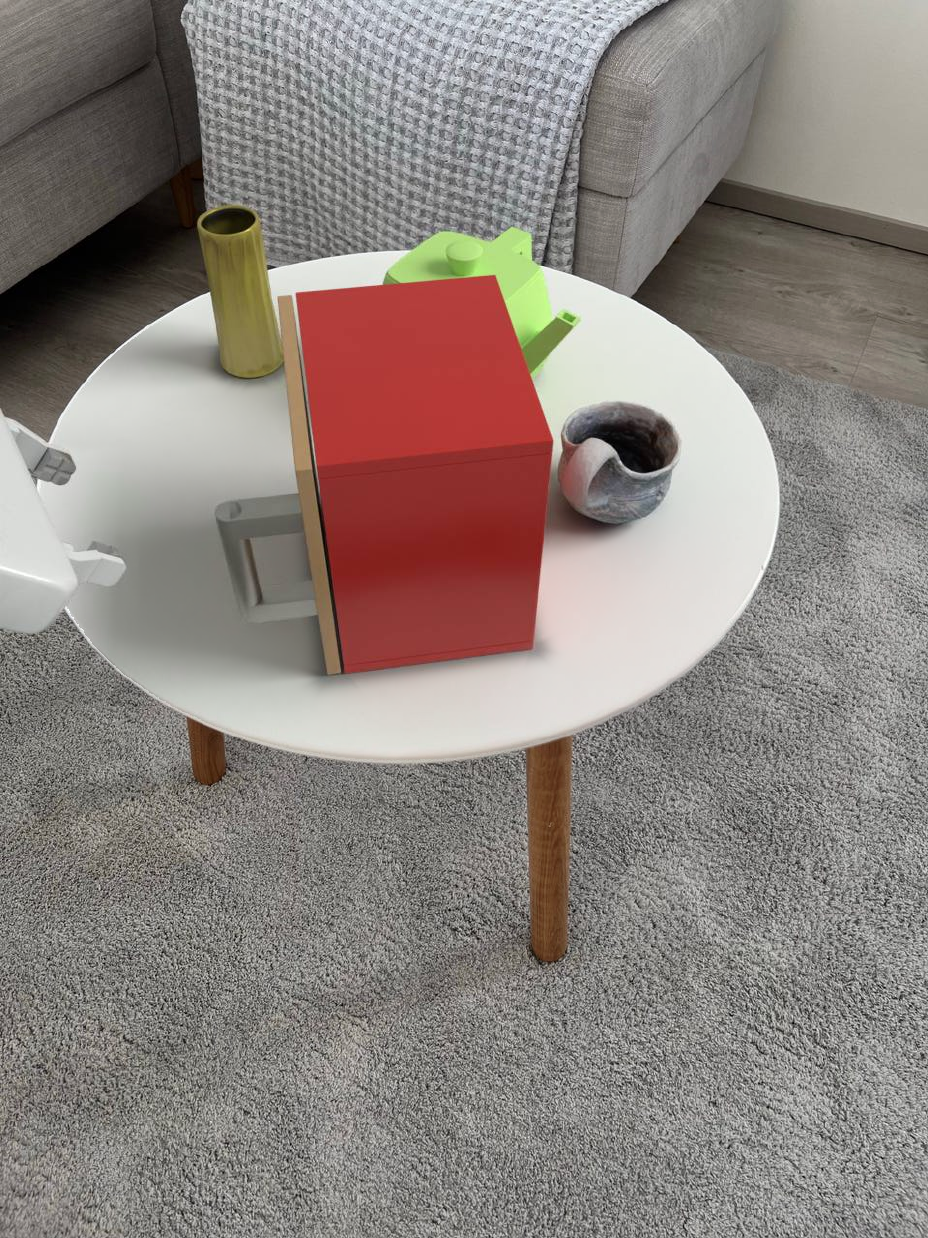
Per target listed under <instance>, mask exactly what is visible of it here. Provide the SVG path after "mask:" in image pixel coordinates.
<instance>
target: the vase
mask: <svg viewBox="0 0 928 1238" xmlns="http://www.w3.org/2000/svg"><path fill="white" fill-rule="evenodd" d="M196 224H197V232H198V236H199V241H200V247H201V251H202V256H203V262H204V267H205V272H206V278H207V283H208V284H207V285H208V288H209V295H210V300H211V305H212V311H213V318H214V323H215V330H216V338H217V345H218V348H219V361H220V362H219V363H220V365H221V367H222V368H223V369H224V371H226V372H227V373H228V374H230V375H233V376H234V377H238V378H246V379H249V378H250V379H252V378H253V379H255V378H260V377H264V376H267V375H269V374H271V373H274V372H276V370H278V369H279V368H280V367H281V365H282V364H284V357H283V348H282V338H281V333H280V329H279V323H278V319H277V315H276V314H277V313H276V310H275V305H274V301H273V296H272V290H271V289H272V288H271V285H270V278H269V271H268V264H267V257H266V250H265V242H264V236H263V230H262V225H261V224H262V223H261V220H260V217H259V215H258V214H257V212H256V211H255V210H254V209H252V208H250V207H248V206H244V205H241V204H240V205H239V204H227V205H220V206H217V207H213V208H211V209H208V210H207V211H205V212H204V213H202V214H201V215H200V216H199V217H198V220H197V222H196Z"/></svg>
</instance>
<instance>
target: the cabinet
mask: <svg viewBox="0 0 928 1238" xmlns="http://www.w3.org/2000/svg"><path fill="white" fill-rule="evenodd" d="M295 301H296V302H295V303H296V309H297V318H298V325H299V326H298V327H299V334H300V335H299V336H300V343H301V351H302V359H303V367H304V375H305V385H306V393H307V398H308V399H307V401H308V408H309V419H310V427H311V435H312V443H313V451H314V459H315V466H316V473H317V481H318V488H319V495H320V502H321V511H322V519H323V526H324V534H325V541H326V548H327V555H328V563H329V570H330V575H331V583H332V591H333V598H334V605H335V612H336V620H337V627H338V634H339V641H340V648H341V657H342V665H343V671H344V674H354V673H361V672H370V671H376V670H382V669H383V670H384V669H385V670H386V669H392V668H399V667H406V666H407V667H408V666H413V665H421V664H429V663H435V662H443V661H452V660H459V659H460V660H461V659H466V658H473V657H482V656H490V655H496V654H502V653H503V654H504V653H511V652H519V651H527V650H533V649H534V643H535V632H536V623H537V612H538V603H539V593H540V592H539V591H540V584H541V583H540V582H541V572H542V561H543V552H544V541H545V530H546V523H547V522H546V521H547V511H548V510H547V509H548V501H549V492H550V491H549V490H550V480H551V471H552V470H551V469H552V462H553V461H552V458H553V451H554V450H553V449H554V438H553V434H552V433H551V429H550V427H549V424H548V421H547V417H546V415H545V412H544V409H543V406H542V404H541V400H540V398H539V394H538V392H537V389H536V387H535V383H534V381H533V380H532V378H531V375H530V372H529V369H528V366H527V364H526V361H525V358H524V355H523V352H522V349H521V346H520V344H519V341H518V338H517V335H516V332H515V329H514V326H513V324H512V321H511V318H510V315H509V312H508V309H507V307H506V304H505V301H504V298H503V295H502V292H501V289H500V287H499V284H498V281H497V278H496V275H487V276H475V277H464V278H453V279H442V280H430V281H419V282H408V283H397V284H386V285H382V284H375V285H365V286H356V287H355V286H353V287H341V288H331V289H321V290H319V289H318V290H310V291H309V290H308V291H297V292H295Z"/></svg>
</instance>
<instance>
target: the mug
mask: <svg viewBox="0 0 928 1238" xmlns="http://www.w3.org/2000/svg"><path fill="white" fill-rule="evenodd" d="M560 440H561V448H562V451H561V454H560V457H559V460H558V465H557V482H558V485H559V489H560V490H561V493H562V494H563V496H564V498H565V499H566V500H567V502H568V504H569V505H570V506H571V507H572V508H573V510H575V511H576V512H577V513H579V514H581V515H583V516H586V517H587V518H590V519H594V520H597V521H599V522H602V523H607V524H618V525H619V524H624V523H628V522H632V521H633V522H634V521H636V520H641V519H642V518H646V517H647V516H649V515H650V514H652V513H653V512H654V511H655V510H656V509H657V508H658V507H659V506H660V505H661V503H662V502H663V501H664V498H666V496H667V494H668V492H669V490H670V486H671V484H672V483H671V482H672V476H673V475H672V474H673V470H674V469H675V468H676V466H677V465H678V463H679V462H680V457H681V452H682V438H681V436H680V434H679V432H678V430H677V428H676V426H675V425H674V423H673V422H672V421H671V420H670V419H669V418H668V417H667V415H665V414H663V413H662V412H658V411H657V410H656V409H654V408H652V407H650V406H647V405H644V404H641V403H636V402H631V401H625V400H616V401H603V402H600V403H593V404H590V405H588V406H584V407H580V408H578V409H577V410H574V412H572V413H571V414H570V415H569V416H568V417H567V418H566V420H565V421H564V423H563V425H562V428H561V431H560Z"/></svg>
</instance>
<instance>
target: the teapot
mask: <svg viewBox="0 0 928 1238" xmlns="http://www.w3.org/2000/svg"><path fill="white" fill-rule="evenodd" d="M532 246H533V245H532V233H530V232H528V231H524V230H522V229H521V228H520V229H519V228H517V227H515V226H510V227H509V228H508V229H507V230H505V231H503V232H502V233H501V234H500V235H499V236H497V237H496V238H494V239H493V240H492V241H488V240H485V239H481V238H478V237H474V236H472V235H468V234H464V233H459V232H455V231H448V230H447V231H439V232H437V233H435V234H434V235H432V236H430V237H428V238H427V239H426V240H424V241H422V242H421V243H420V244H419V245H418V246H416V247H415V248H413V249H412V250H410V251H409V252H408V253H406V254H405V255H404V256H403V257H401V258H400V259H399V260H397V262H395V263H394V264H392V266H391V267H390V268H389V269H388V270H387V271H386V272H385V275H384V278H383V280H382V284H381V285H386V284H397V283H408V282H419V281H430V280H442V279H453V278H464V277H475V276H487V275H496V278H497V281H498V284H499V287H500V289H501V292H502V295H503V298H504V301H505V304H506V307H507V309H508V312H509V315H510V318H511V321H512V324H513V326H514V329H515V332H516V335H517V338H518V341H519V344H520V346H521V349H522V352H523V355H524V358H525V361H526V364H527V366H528V369H529V372H530V375H531V378H532V381H533V380H534V379H535V378H536V377H537V376H538V374H539V373H540V372H541V370H542V369H543V367H544V366H545V364H546V362H547V360H548V359H549V356H550V355H551V354H552V353H553V351H554V350H555V349H556V348H557V347H558V346H560V343H562V342H563V340H564V339H565V338H566V337H567V336H568V335H569V334H570V333H571V332H572V331H573V330H574V328H575V327H577V325H578V324H579V323H580V322H581V319H582V317H580V316H578V315H576V314H574V313H573V312H571V311H569V310H567V309H565V308H563V309H562V310H561V311H559V313H557V314H556V315H555V318H553V314H552V306H551V301H550V296H549V291H548V288H547V283H546V279H545V276H544V271H543V269H542V267H541V266H540V265H539V264H537V262H535V261H533V249H532V248H533V247H532Z"/></svg>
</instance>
